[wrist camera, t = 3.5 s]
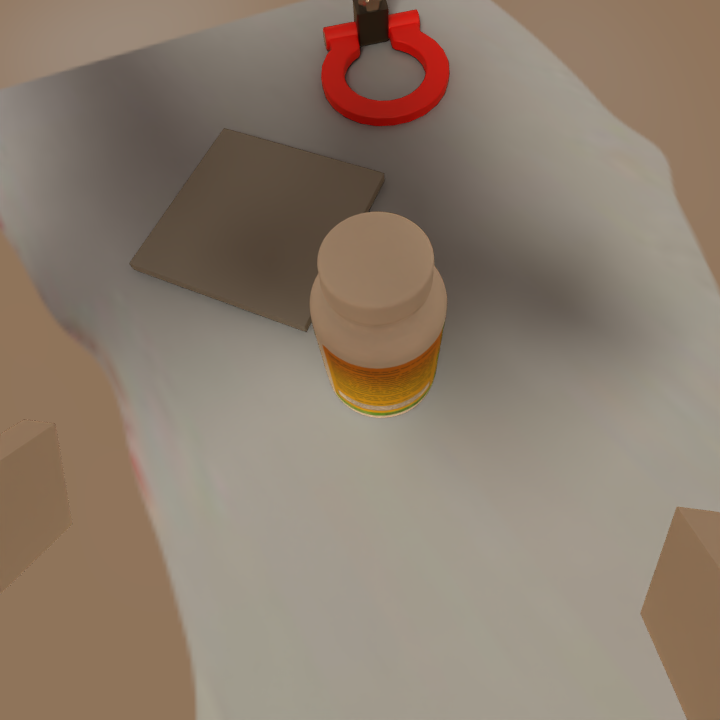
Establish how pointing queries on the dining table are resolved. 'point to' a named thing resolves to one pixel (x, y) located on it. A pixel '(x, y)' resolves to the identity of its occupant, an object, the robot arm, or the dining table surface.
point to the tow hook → (403, 35)
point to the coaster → (256, 225)
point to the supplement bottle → (378, 312)
